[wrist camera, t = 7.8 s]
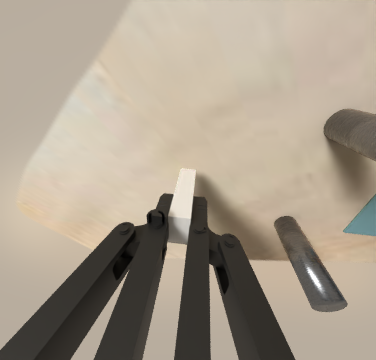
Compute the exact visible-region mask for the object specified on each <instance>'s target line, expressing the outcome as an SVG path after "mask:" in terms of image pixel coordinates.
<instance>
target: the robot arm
mask: <svg viewBox="0 0 376 360" xmlns="http://www.w3.org/2000/svg"><path fill="white" fill-rule="evenodd" d="M195 174H196V170H193V169H184V168H181V170H180V174H179V178H178V181H177V185H176V189H175V192H174V194H166V193H164V194H163V195H162V196H161V197H160V199H159V202H158V204H157V207H156V209H154V210H151V211H150V212H148V214H147V224H145V225H141V226H134V225H133V224H132V223H129V222H124V223H121V224H119V225H117V226H116V227H115V228H114V229H113V230H112V231H111V232H110V234H109V235H108V236H107V237H106V238H105V239H104V240H103V241H102V242H101V243H100V244H99V245H98V246H97V247H96V249H95V250H94V251H93V252H92V253H91V254H90V255H89V256H88V257H87V258H86V259H85V260H84V261H83V263H81V265H80V266H79V267H78V268H77V269H76V270H75V271H74V272H73V273H72V274H71V275H70V276H69V277H68V278H67V279H66V281H65V282H64V283H63V284H62V285H61V286H60V287H59V288H58V289H57V290H56V291H55V292H54V294H52V296H51V297H50V298H49V299H48V300H47V301H46V302H45V303H44V304H43V305H42V306H41V307H40V308H39V310H38V311H37V312H36V313H35V314H34V315H33V316H32V317H31V318H30V319H29V320H28V321H27V322H26V323H25V324H24V325H23V326H22V328H21V329H20V330H19V331H18V332H17V333H16V334H15V335H14V336H13V337H12V338H11V339H10V340H9V342H7V344H6V345H5V346H4V347H3V348H2V349H1V350H0V360H70V359H71V358H72V356H73V355H74V353H75V352H76V350H77V348H78V347H79V345H80V344H81V342H82V341H83V339H84V338H85V336H86V335H87V333H88V332H89V330H90V328H91V327H92V325H93V324H94V322H95V321H96V319H97V318H98V316H99V315H100V313H101V312H102V310H103V309H104V307H105V306H106V304H107V302H108V301H109V300H110V298H111V296H112V295H113V293H114V292H115V290H116V289H117V287H118V286H119V284H120V283H121V281H122V280H123V278H124V277H125V275H126V273H127V272H128V270H129V272H128V274H127V277H126V279H125V282H124V284H123V287H122V289H121V292H120V295H119V297H118V300H117V302H116V305H115V307H114V310H113V312H112V315H111V318H110V320H109V322H108V325H107V328H106V330H105V333H104V335H103V338H102V340H101V343H100V345H99V348H98V350H97V353H96V355H95V358H94V360H142V358H143V354H144V349H145V345H146V340H147V336H148V331H149V327H150V322H151V318H152V313H153V309H154V304H155V300H156V295H157V291H158V287H159V282H160V278H161V273H162V268H163V264H164V260H165V255H166V251H167V242H171V243H179V244H187V251H186V260H185V269H184V277H183V286H182V295H181V304H180V312H179V321H178V330H177V339H176V348H175V357H174V360H211V355H210V292H209V291H210V288H209V264H211V265H213V267H214V271H215V275H216V278H217V282H218V285H219V289H220V293H221V296H222V300H223V303H224V307H225V310H226V314H227V318H228V322H229V325H230V329H231V333H232V336H233V340H234V343H235V347H236V350H237V355H238V358H239V360H295V358H294V356H293V354H292V352H291V349H290V347H289V345H288V343H287V341H286V339H285V337H284V335H283V333H282V330H281V328H280V326H279V324H278V322H277V320H276V318H275V316H274V314H273V311H272V309H271V307H270V305H269V303H268V301H267V299H266V297H265V294H264V292H263V290H262V288H261V286H260V284H259V282H258V280H257V278H256V275H255V273H254V271H253V269H252V267H251V265H250V263H249V260H248V258H247V256H246V254H245V252H244V250H243V248H242V246H241V244H240V241H239V240H238V239H237V238H236V237H235V236H234V235H231V234H223V235H222V236H220V235H217V234H215V233H213V232H212V231H211V230H210V229H209V228H208V224H207V200H206V199H205V197H196V196H193V193H194V184H195Z"/></svg>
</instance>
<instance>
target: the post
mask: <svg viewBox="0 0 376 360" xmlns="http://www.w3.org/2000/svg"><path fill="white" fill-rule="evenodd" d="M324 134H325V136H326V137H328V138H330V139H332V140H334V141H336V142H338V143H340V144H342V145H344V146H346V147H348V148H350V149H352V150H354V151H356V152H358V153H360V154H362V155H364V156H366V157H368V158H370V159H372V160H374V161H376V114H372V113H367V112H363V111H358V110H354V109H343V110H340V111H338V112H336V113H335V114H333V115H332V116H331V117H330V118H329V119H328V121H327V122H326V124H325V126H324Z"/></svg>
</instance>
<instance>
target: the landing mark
mask: <svg viewBox="0 0 376 360" xmlns="http://www.w3.org/2000/svg"><path fill="white" fill-rule="evenodd" d="M343 232H345V233H353V234H362V235H371V236H376V195H375V196H374V197H373V198H372V199H371V200H370V202H369V203H368V204H367V205H366V206H365V207H364V208H363V209H362V211H361V212H360V213H359V214H358V215H357V216H356V217H355V218H354V220H353V221H352V222H351V223H350V224H349V225H348V226H347V227H346V228H345V230H344V231H343Z"/></svg>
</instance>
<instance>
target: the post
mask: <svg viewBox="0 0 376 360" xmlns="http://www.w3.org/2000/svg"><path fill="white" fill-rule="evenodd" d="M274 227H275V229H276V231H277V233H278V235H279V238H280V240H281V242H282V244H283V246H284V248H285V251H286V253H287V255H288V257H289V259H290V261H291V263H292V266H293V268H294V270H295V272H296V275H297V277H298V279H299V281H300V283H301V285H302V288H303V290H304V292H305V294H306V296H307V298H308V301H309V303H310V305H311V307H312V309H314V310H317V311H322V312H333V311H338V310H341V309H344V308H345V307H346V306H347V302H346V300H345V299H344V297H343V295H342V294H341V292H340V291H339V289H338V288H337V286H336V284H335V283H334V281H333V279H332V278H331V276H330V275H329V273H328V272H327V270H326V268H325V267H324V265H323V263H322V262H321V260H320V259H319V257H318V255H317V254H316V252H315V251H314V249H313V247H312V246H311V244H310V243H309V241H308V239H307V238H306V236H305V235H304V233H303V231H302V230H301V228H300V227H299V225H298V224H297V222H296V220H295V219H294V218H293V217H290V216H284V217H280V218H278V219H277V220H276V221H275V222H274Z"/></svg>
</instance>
